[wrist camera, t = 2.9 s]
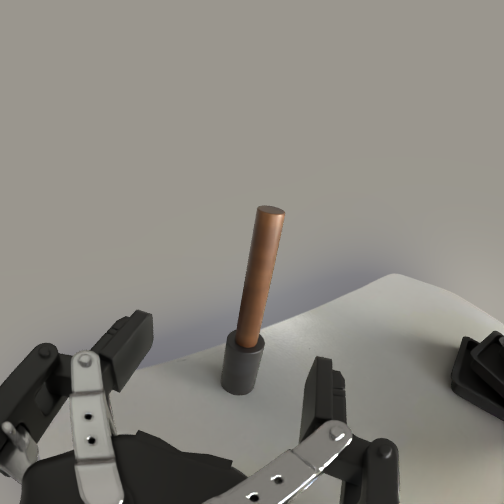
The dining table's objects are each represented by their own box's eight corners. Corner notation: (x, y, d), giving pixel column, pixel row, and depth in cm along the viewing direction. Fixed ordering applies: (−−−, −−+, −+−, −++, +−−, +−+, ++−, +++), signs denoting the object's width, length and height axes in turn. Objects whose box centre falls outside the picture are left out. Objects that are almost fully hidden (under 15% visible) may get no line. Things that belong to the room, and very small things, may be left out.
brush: (242, 401, 26) (282, 221, 19) (214, 384, 28) (238, 206, 20) (260, 381, 29) (302, 212, 22) (232, 366, 30) (262, 200, 23)
